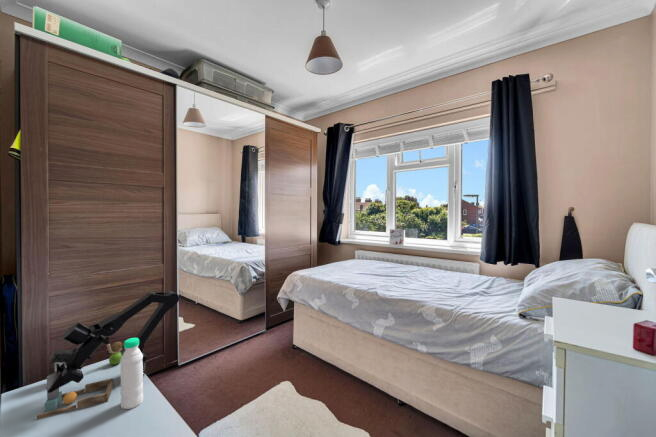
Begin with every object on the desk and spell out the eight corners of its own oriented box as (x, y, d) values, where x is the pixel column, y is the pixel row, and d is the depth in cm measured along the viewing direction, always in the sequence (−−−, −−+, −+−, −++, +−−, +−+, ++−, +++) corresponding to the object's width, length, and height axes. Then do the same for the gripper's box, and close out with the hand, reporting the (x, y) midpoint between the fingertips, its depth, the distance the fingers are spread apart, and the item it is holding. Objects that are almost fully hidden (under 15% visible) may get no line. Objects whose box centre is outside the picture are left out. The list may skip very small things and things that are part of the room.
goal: (113, 385, 117) (113, 378, 116) (107, 401, 107) (107, 393, 107) (49, 400, 107) (49, 392, 107) (36, 419, 97) (36, 411, 97)
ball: (78, 397, 108) (78, 388, 108) (75, 404, 105) (74, 394, 105) (64, 401, 107) (64, 391, 106) (60, 407, 103) (60, 397, 103)
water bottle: (131, 411, 102) (131, 345, 101) (116, 408, 103) (115, 343, 102) (147, 398, 109) (147, 336, 108) (132, 395, 110) (132, 334, 109)
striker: (62, 399, 107) (61, 370, 106) (56, 409, 102) (55, 378, 101) (51, 401, 105) (50, 372, 105) (44, 412, 100) (43, 381, 100)
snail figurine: (104, 365, 130) (103, 341, 130) (119, 359, 136) (119, 335, 135) (110, 369, 127) (109, 343, 127) (125, 362, 133) (125, 338, 133)
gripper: (62, 333, 112) (22, 372, 103) (70, 349, 100) (26, 394, 92) (88, 345, 118) (52, 382, 110) (99, 361, 106) (59, 404, 98)
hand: (47, 390), depth 102 cm, fingers closed on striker, 3 cm apart
